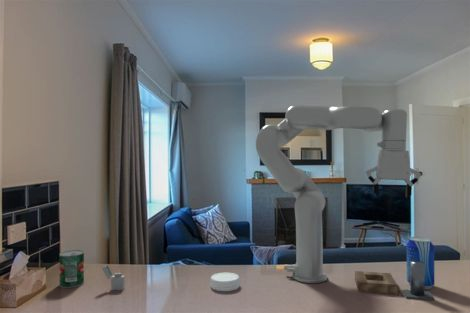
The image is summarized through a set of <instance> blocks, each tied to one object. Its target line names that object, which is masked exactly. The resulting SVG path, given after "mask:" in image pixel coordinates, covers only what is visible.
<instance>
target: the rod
mask: <svg viewBox="0 0 470 313" xmlns="http://www.w3.org/2000/svg"><path fill="white" fill-rule="evenodd" d="M409 286H410V289H409V290H410V293H411V294H412V295H415V296H424V295H425V290H426V289H425V263H424V262H422V261H416V260H413V261H410V285H409Z"/></svg>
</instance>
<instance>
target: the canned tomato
mask: <svg viewBox="0 0 470 313" xmlns="http://www.w3.org/2000/svg"><path fill="white" fill-rule="evenodd" d="M58 255H59V288H62V289H72V288H78V287H80V286H83V285H84V283H85V251H84V250H81V249H73V250H66V251H63V252H60V253H59V254H58Z"/></svg>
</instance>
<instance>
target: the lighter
mask: <svg viewBox="0 0 470 313" xmlns="http://www.w3.org/2000/svg"><path fill="white" fill-rule="evenodd" d="M101 269H102V270H103V273H104V275H105V276H106V278H107V279H110V290H111V291H123V290H125V288H126V284H125V283H126V280H125V279H126V278H125V277H126V276H125V275H123V274H122V273H121V272H115V273H114V275H113V273H112V270H111V268H110V266H109V265H108V264H106V265H104V266H102V268H101Z"/></svg>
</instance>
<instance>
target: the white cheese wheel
mask: <svg viewBox="0 0 470 313" xmlns="http://www.w3.org/2000/svg"><path fill="white" fill-rule="evenodd" d="M240 283H241V281H240V276H239V275H238V274H237V273H233V272H218V273H214V274H212V275H211V276H210V288H211V289H212V290H214V291H217V292H218V291H219V292H231V291H236V290H238V289H240Z"/></svg>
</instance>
